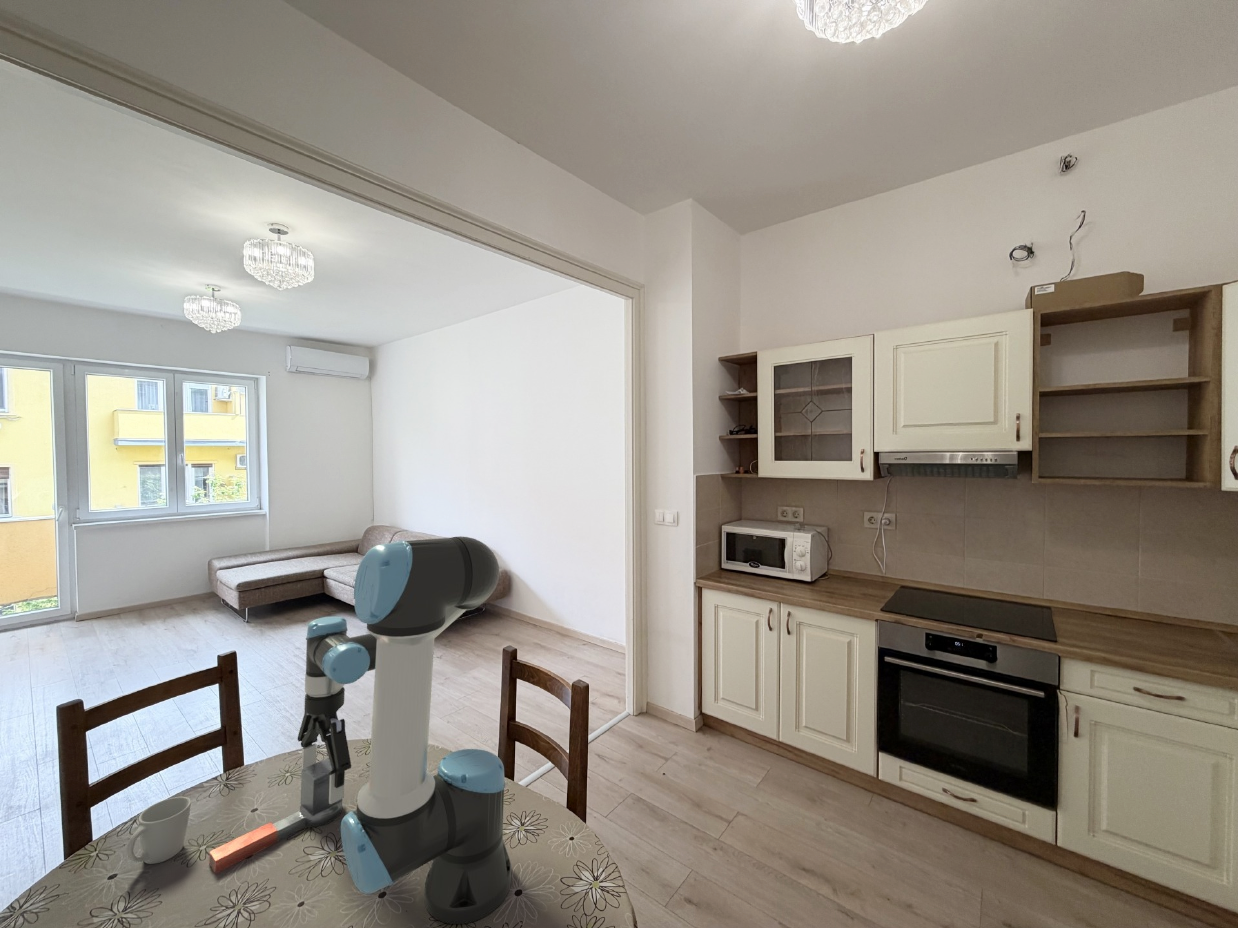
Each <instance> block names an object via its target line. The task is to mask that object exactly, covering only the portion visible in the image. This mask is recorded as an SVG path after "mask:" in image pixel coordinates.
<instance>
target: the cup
mask: <svg viewBox="0 0 1238 928" xmlns="http://www.w3.org/2000/svg"><path fill="white" fill-rule="evenodd" d="M191 805H192V800H191V799H190V798H189V797H187V796H176V797H175V796H174V797H170V798H167V799H163V800H161V801H159V802H158V801H157V802H156V803H154V804H152V805H150V806H149V807H147V808H145V809H144V810H143V811H142V812H141V813H140V815H139V817H138V828H137V829H136V831H134V833H133V834H132V836H131V837H130V838H129V841H128V843H127V847H126V853H127V854H126V855H127V858H128V859H129V860H130V861H132V862H134V863H141V862H144V863H145V864H148V865H153V864H159V863H163V862H165V861H168V860H170V859H172V858H173V857H174V856H176V855H177V854H178V853H180V852H181V850H182V849H183V848H184V844H185V839H186V834H187V828H188V823H189V819H190V818H189V817H190V812H191ZM139 838H140V839H139ZM137 839H139V840H140V846H141V851H142V852H141V855H139V856H136V855H135V853H134V847H135V843H136V841H137Z"/></svg>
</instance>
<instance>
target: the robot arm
mask: <svg viewBox="0 0 1238 928" xmlns="http://www.w3.org/2000/svg"><path fill="white" fill-rule="evenodd" d="M499 579H500V565H499V563H498V559H497V557H496V555H495V553H494V552H493V550H492V549H491V548H490V547H489V546H488V545H486V544H485V543H483V542H482V541H480V540H478V539H476V538H474V537H473V538H472V537H468V536H451V537H441V538H439V537H438V538H430V539H429V538H428V539H426V538H424V539H414V540H412V539H411V540H401V539H400V540H398V541H395V542H388V543H382V544H377V545H375V546H373V547H371V548H370V549H369V550H368V551H367V552H366V553H365V555H363V557H362V559H361V561H360V564H359V566H358V567H357V572H356V574H355V579H354V584H353V586H354V587H353V599H354V611H355V614H356V617H357V619H358V620H359V621H360V622H362V623H363V624H366V631H367V632H368V633H366V634H362V635H357V636H352V637H350V636H348V635H347V634H348V633H347V632H348V625H347V619H346V618H344V617H342V616H338V615H337V616H325V617H320V618H317V619H314V620H312V621H310V623H309V624H308V625H307V631H306V638H305V640H306V653H305V654H306V656H305V657H306V658H305V660H306V661H305V674H304V675H305V677H304V678H305V679H304V692H305V695H304V710H303V711H304V713H303V716H302V717H303V718H302V720H301V725H300V728H299V731H298V734H297V741H298V742H300V746H301V748H302V749H301V772H300V773H301V775H302V769H304V768H306V767H308V766H311V765H313V764H315V763H317V748H318V747H317V745H318V744H317V742H318V737H319V736H320V740H321V741H320V742H322V743H324V744H325V749H326V752H327V754H328V755H327V757H328V758H329V760H330V764H331V767H332V771H330V772H329V775H330V783H329V804H332V803H334V802H336V801H338V800H340V799H342V800H343V799H344V798H345V775H346V772H345V771H347V770H349V769H351V768H352V762H351V757H350V750H349V745H348V739H347V734H346V720H345V719H344V718H342V719H339V718H338V713H337V712H338V711H339V710H340V708H342V707H343V706H344V704H345V692H346V691H345V690H346V689H345V687H344V686H345V685H349V684H353V683H356V681H358V680H360V679H361V678H362V677H364V675H366V673H367V672H369V671H374V684H373V700H372V701H373V703H372V718H371V719H372V720H371V738H370V739H371V740H370V753H369V754H370V755H369V768H368V769H369V773H368V780H367V781H366V782H365V783H364V784H363V785H362V787H361V788H360V789H359V792H358V793H357V799H356V809H355V810H351V811H349V812H348V813H347V814H345V815H344V817H343V818H342V819H341V823H340V835H341V836H340V839H341V844H342V850H343V854H344V858H345V861H346V865H347V868H348V871H349V874H350V877H351V879H352V882H353V883H354V884H355V887H356V889H358V891H359V892H361V893H362V894H365V895H370V894H373V893H376V892H378V891H380V890H382V889H384V888H386V887H388V886H392V885H393V884H394V883H395V882H397V881H399V880H401V879H402V878H404V877H405V876H407V875H409V874H410V873H413V872H414V871H416V870H418V869H419V868H422V866H424V865H427V864H428V863H429V862H431V866H430V868H429V870H428V872H427V874H426V879H425V884H424V898H423V899H424V906H425V907H426V910H427V912H428V913H429V915H431V917H433V918H434V919H436V920H437V921H440V922H442V923H445V924H451V925H452V924H453V925H463V924H468V923H472V922H475V921H478V920H481V919H482V918H483V919H484V917H487V916H488V915H490V914H491V913H493V912H494V911H496V909H497V908H498V907H500V905H501V904H502V903H503V902H504V900H505V899H506V898H507V897H508V896H507V895H508V894H509V892H510V888H511V884H512V863H511V859H510V856H509V854H508V850H507V847H506V844H505V841H504V837H503V835H504V832H503V831H504V806H505V803H504V801H505V788H506V781H505V780H506V779H505V767H504V764H503V761H502V760H501V759H500V757H498V756H497V755H496V754H494V753H492V752H490V751H488V750H485V749H480V748H479V749H478V748H466V749H465V748H464V749H459V750H455V751H452V752H450V753H448V754H446V755H445V756H443V758H442V759H441V760H440V762H439V763H438V766H437V774H435V775H433V774H432V773H431V772H430V771H428V770H427V769H428V768H427V767H428V765H427V764H428V751H429V750H428V749H429V736H430V735H429V733H430V722H431V721H430V719H431V703H432V689H433V688H432V683H433V668H434V653H435V652H434V650H435V639H436V638H437V637H438V636H439V635H440V634H441V633H442V632H443V631H445V630H446V629H447V628H448V627H449V626H450V625H451V624H452V623H454V622H455V621H456V620H457V619H458V618H460V617H461V616H462V615H463V613H465V612H466V611H470V610H471V611H472V610H474V609H476V608H479V606H481V605H482V604H483V603H485V602H486V601H487V599H489V597H491V595H492V594H493V593H494V592H495V589H496V588H497V586H498V583H499V581H500V580H499Z"/></svg>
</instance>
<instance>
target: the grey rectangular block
mask: <svg viewBox="0 0 1238 928" xmlns="http://www.w3.org/2000/svg"><path fill="white" fill-rule="evenodd" d="M301 771H302V775H301V776H300V777H301V779H300V781H301V782H300V783H301V784H300V806H301V805H302V806H303V807H304V808H305V809H306V810H307V811H308V812H309V813H310V814H311V815H312V816H314V815H316V814H318V813H320V812H322V811H324V810H326V809H328V808H330V807H332V806H334V805H336V804H338V803H340V802H342V803H343V798H342V799H340V800H338V801H336V802H334V803H332V804H329V783H330V775H329V772H330V771H332V767H331V764H330V760H329V757H327V758H325V759H322V760H320V761H318V762H316V763H315V764H313V765H311V766H308V767H306V768H304V769H302V768H301Z"/></svg>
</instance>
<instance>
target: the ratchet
mask: <svg viewBox="0 0 1238 928" xmlns="http://www.w3.org/2000/svg"><path fill="white" fill-rule="evenodd" d="M342 811H343V801H342V802H340V803H338V804H336V805H334V806H332V807H330V808H328V809H326V810H324V811H322V812H320V813H318V814H316V815H314V816H312V815H311V814H310V813H309V812H308V811H307V810H306V809H305V808H304V807H303V806H302V805H301V804H300V806H299V810H298V811H297V812H294V813H293V814H291V815H289V816H287V817H284V818H282V819H280V820H278V821H276V822H274V823H272V822H268V823H265V824H263V825H262V826H259V827H258V828H255V829H254V830H252V831H249V832H247V833H246V834H243V835H241V836H239V837H237V838H235V839H233V840H231V841H229V842H227V843H224V844H223V845H220V846H218V847H216V848H213V849H212V850H210V851H209V857H208V858H209V859H208V861H209V863H208V865H209V867H210V868H211V870H212V871H213V873H214V874H215V875H216V874H218V873H220V872H222V871H225V870H226V869H227V868H230V867H231V866H233V865H235V864H237V863H239V862H241V861H243V860H244V859H248V858H249V857H251V856H252V855H254V854H256V853H259V852H260V851H263V850H264V849H267V848H268V847H271V846H272V845H274V844H276V843H278V841H280V840H282V839H284V838H286V837H288V836H289V835H292V834H294V833H296V832H297V831H299V830H302V829H303V828H306V827H307V828H316V827H321V826H323V825H326V824H329V823H331V822H332V821H334V820H335V819H337V818H338V816H339V815H340V814H341V812H342Z"/></svg>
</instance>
